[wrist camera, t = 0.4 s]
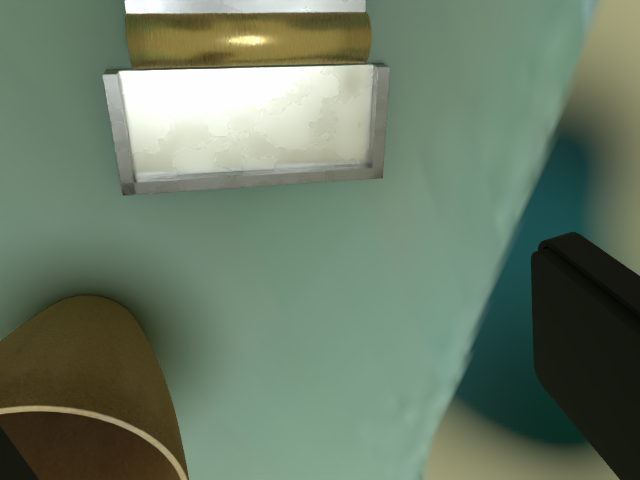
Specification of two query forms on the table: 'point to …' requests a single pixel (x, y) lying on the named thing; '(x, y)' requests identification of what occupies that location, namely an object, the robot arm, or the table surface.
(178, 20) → the hinge base
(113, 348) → the plant pot
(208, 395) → the table surface
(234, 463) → the table surface
